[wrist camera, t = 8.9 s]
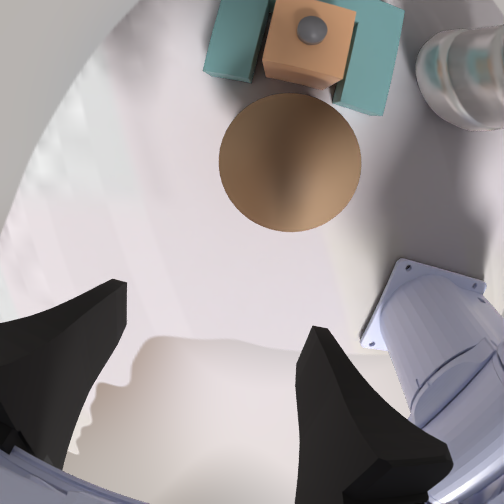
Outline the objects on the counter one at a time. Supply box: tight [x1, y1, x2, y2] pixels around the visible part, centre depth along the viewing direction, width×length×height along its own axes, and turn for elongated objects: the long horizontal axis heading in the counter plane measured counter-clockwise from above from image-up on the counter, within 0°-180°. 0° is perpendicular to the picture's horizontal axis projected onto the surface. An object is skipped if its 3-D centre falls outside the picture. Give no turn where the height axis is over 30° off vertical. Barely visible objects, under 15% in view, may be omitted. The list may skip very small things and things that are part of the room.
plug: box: [262, 0, 356, 90], centre depth 13 cm, size 4×4×7 cm
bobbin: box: [219, 93, 361, 232], centre depth 16 cm, size 6×6×6 cm
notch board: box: [203, 0, 405, 116], centre depth 15 cm, size 10×7×2 cm
